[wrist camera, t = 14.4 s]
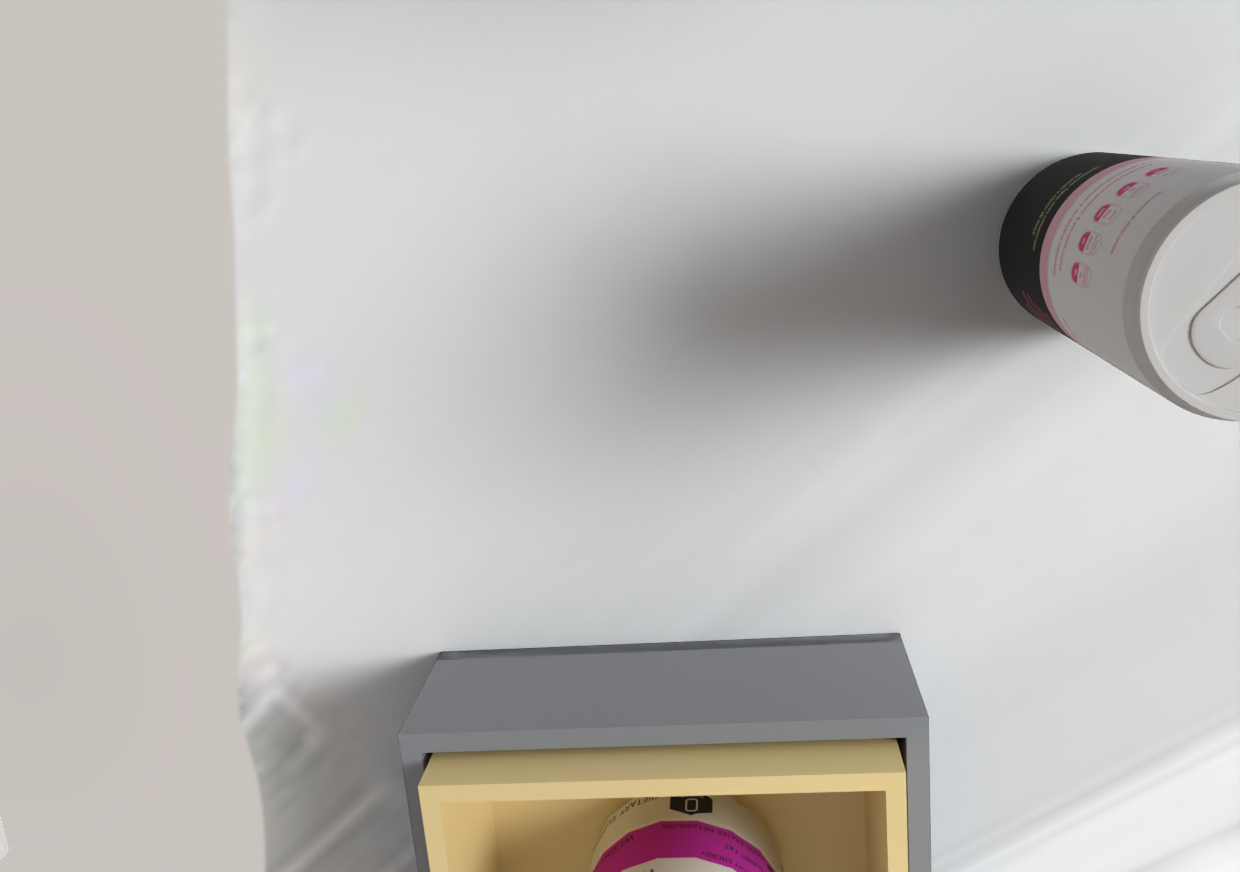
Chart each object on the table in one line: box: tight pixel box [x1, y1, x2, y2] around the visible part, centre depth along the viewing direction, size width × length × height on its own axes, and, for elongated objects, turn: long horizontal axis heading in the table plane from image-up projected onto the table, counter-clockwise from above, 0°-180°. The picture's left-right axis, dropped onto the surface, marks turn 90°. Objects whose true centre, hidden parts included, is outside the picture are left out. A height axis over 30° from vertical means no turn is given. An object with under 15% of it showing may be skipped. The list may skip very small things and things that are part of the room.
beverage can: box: [999, 152, 1240, 421], centre depth 36 cm, size 6×7×15 cm
